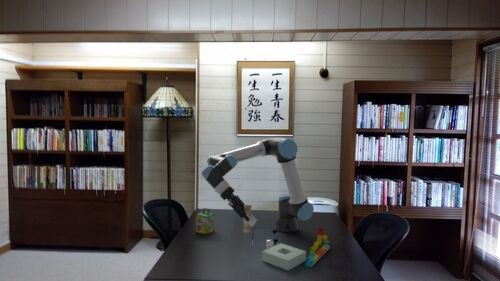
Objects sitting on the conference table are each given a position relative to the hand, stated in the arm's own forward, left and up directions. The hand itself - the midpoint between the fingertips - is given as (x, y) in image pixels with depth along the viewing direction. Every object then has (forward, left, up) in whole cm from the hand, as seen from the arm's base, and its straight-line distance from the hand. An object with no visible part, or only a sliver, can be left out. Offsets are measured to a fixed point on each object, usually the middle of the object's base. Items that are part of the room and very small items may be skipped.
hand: (254, 223), depth 175 cm
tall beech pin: (+2, -3, -5) cm, 6 cm away
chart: (-26, +24, -19) cm, 40 cm away
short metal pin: (-15, -1, -18) cm, 24 cm away
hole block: (-8, +14, -18) cm, 24 cm away
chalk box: (-8, -48, -18) cm, 52 cm away
